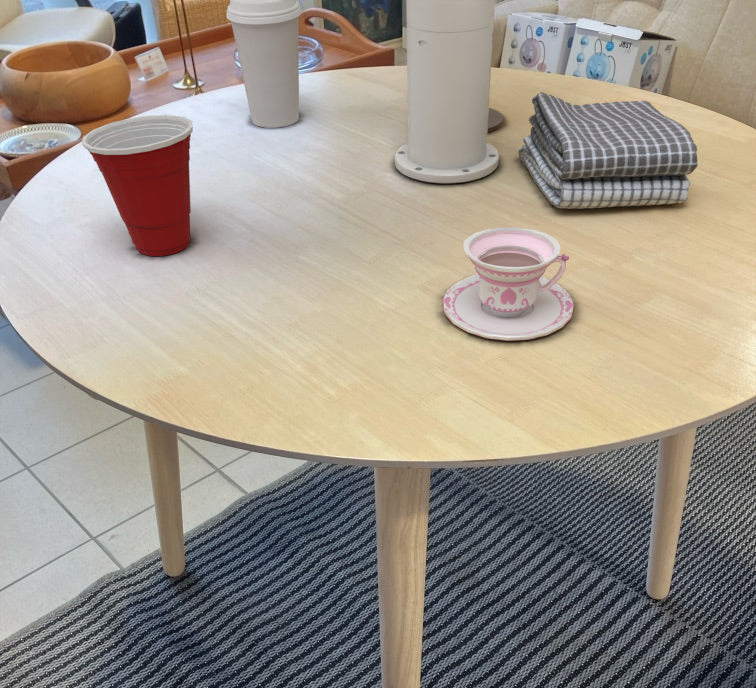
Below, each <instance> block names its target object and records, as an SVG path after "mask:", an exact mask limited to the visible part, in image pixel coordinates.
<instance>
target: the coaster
mask: <svg viewBox="0 0 756 688" xmlns="http://www.w3.org/2000/svg"><path fill="white" fill-rule="evenodd" d="M503 124H504V116H503V114H502V113H501V112H500V111H499V110H497V109H495V108H493V107H489V114H488V132H487V134H489V133H492V132H495V131H497V130H499V128H501V127H502V126H503Z"/></svg>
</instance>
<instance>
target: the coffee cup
mask: <svg viewBox="0 0 756 688" xmlns="http://www.w3.org/2000/svg"><path fill="white" fill-rule="evenodd" d="M302 14H303V11H302V8H301V5H300V3H299V1H298V0H230V1H229V4H228V6H227V10H226V17H225V18H226V19H227V20H228V21H229V22H230V23H231V28H232V32H233V37H234V42H235V46H236V52H237V56H238V61H239V65H240V70H241V71H240V72H241V75H242V81H243V85H244V90H245V94H246V99H247V105H248V108H249V114H250V118H251V123H252V124H254V125H255V126H257V127H260V128H265V129H276V128H284V127H288V126H292V125H294V124H296V123H297V122H298V121H299V120H300V60H299V59H300V58H299V55H300V54H299V51H300V50H299V47H300V46H299V44H300V43H299V17H300V16H301V15H302Z"/></svg>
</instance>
